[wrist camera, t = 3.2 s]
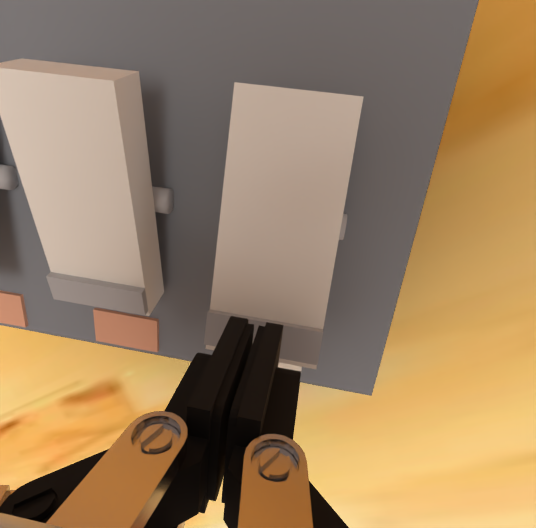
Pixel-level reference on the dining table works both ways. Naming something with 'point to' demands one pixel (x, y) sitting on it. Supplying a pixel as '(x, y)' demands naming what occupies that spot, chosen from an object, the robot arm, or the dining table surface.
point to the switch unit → (216, 141)
